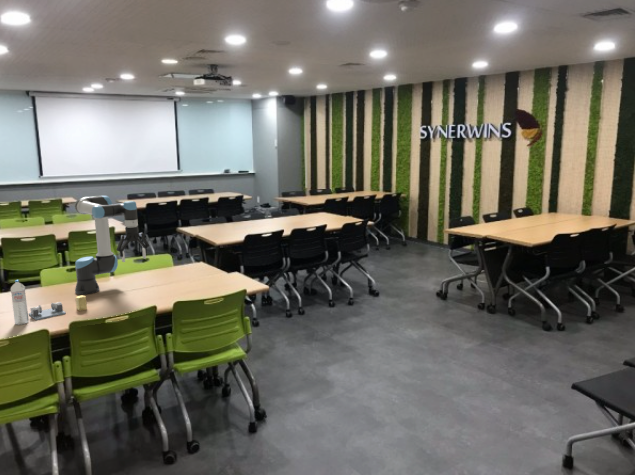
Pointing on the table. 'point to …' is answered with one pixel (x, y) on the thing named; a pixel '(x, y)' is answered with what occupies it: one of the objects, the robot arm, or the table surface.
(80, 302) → the pale yellow block
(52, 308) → the shaft bench
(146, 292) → the table surface
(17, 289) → the water bottle
